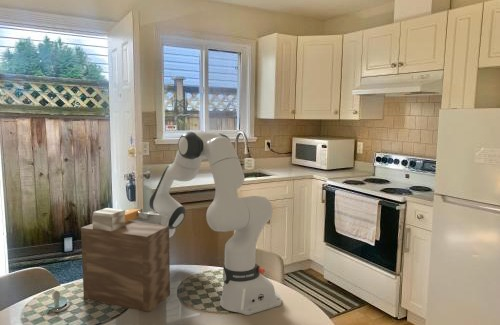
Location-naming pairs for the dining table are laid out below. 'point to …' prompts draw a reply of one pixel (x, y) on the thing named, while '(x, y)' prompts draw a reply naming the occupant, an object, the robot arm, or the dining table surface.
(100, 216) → the shelf stand
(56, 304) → the pacifier
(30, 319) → the dining table surface
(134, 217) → the plug
